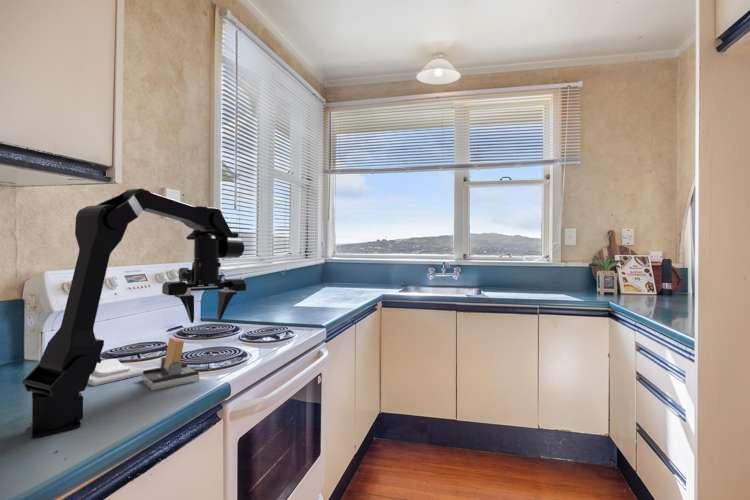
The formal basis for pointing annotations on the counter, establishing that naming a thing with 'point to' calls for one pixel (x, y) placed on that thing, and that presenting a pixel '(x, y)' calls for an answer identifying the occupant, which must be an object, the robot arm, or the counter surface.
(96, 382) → the light switch
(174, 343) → the lever
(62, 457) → the counter surface
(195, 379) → the toggle switch base
